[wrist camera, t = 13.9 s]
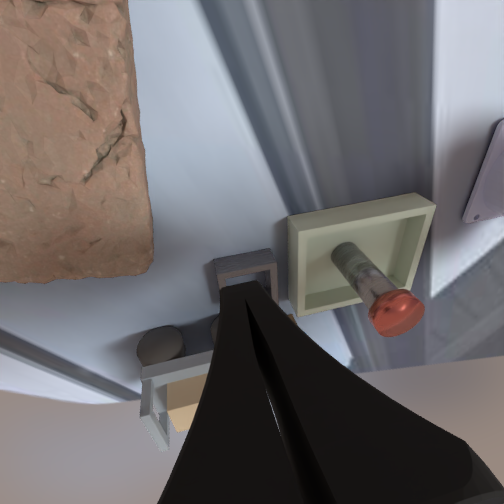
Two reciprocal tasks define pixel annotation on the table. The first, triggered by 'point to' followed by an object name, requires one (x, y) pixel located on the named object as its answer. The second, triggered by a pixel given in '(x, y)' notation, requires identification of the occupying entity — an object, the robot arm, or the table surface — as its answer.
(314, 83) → the table surface
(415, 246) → the tray
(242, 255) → the socket
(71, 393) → the table surface
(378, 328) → the pin
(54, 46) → the brick
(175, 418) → the trolley
